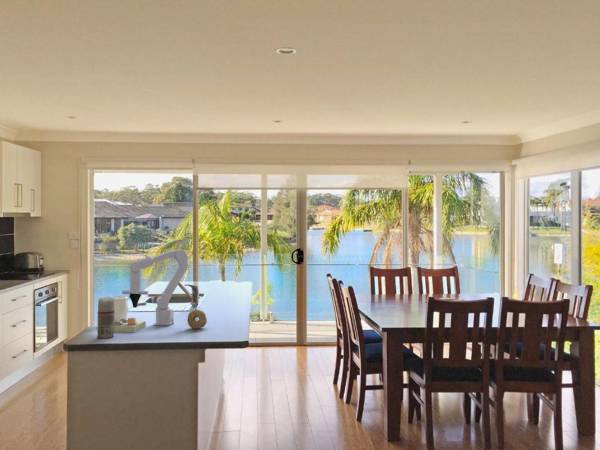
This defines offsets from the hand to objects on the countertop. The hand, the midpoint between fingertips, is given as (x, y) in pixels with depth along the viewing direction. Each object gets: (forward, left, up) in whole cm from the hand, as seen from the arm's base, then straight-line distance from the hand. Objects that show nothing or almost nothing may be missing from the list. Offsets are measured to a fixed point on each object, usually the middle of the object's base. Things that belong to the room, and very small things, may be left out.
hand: (135, 307), depth 302 cm
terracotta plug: (-2, +10, -9) cm, 14 cm away
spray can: (+4, +28, -11) cm, 30 cm away
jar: (+13, -6, -11) cm, 18 cm away
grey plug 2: (+5, +4, -10) cm, 12 cm away
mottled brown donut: (-36, +4, -11) cm, 38 cm away
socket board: (+1, +8, -10) cm, 13 cm away
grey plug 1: (+5, +12, -10) cm, 16 cm away
